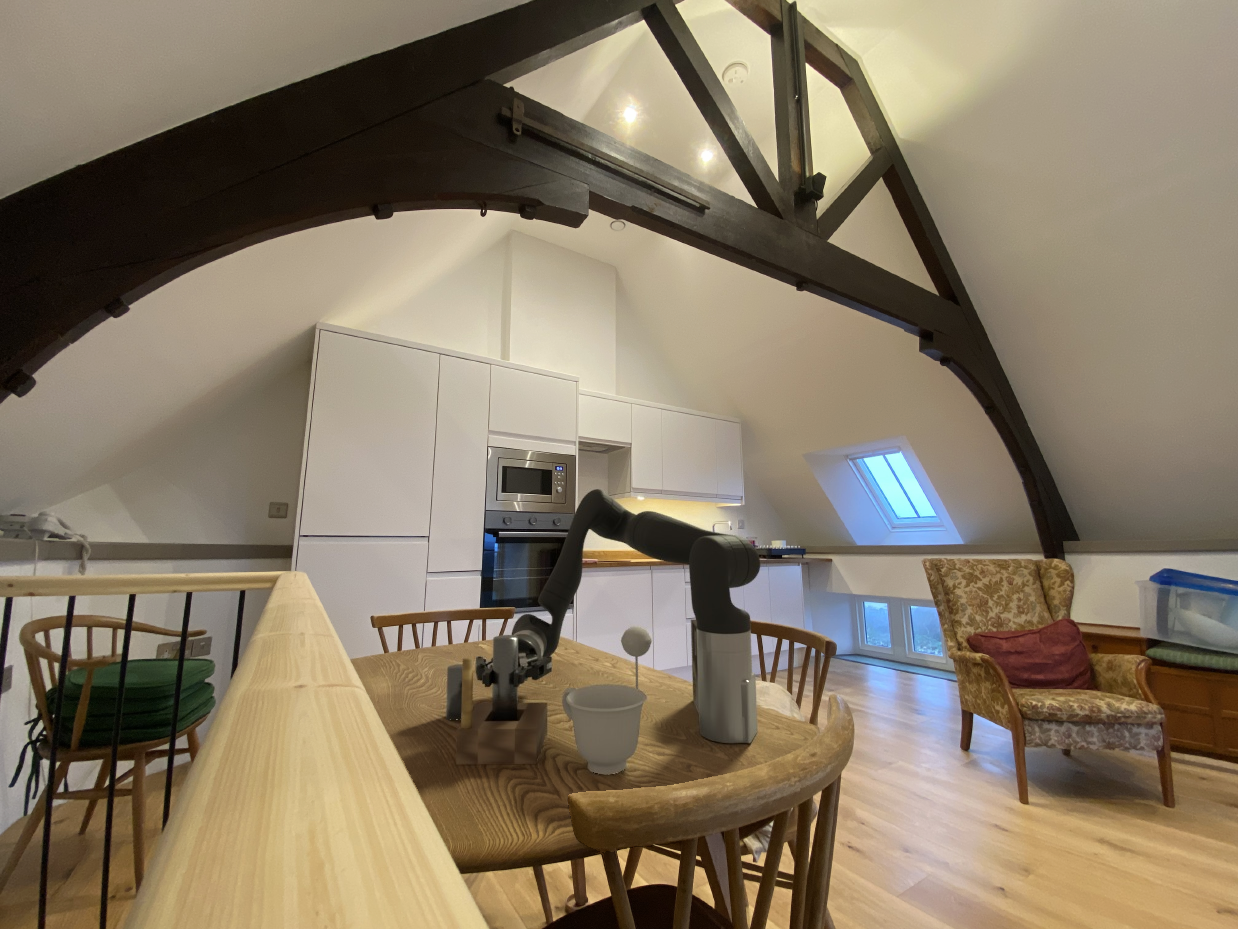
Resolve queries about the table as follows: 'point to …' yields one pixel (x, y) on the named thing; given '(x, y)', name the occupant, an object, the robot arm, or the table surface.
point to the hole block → (498, 730)
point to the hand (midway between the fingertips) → (501, 680)
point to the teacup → (605, 724)
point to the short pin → (454, 692)
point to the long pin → (504, 678)
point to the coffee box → (694, 663)
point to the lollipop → (636, 644)
